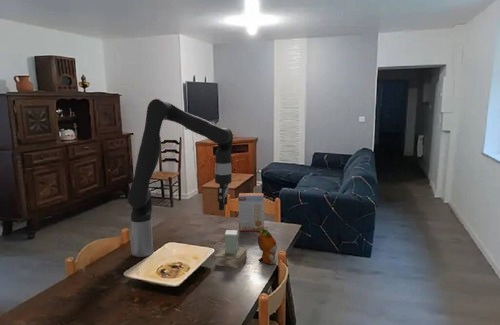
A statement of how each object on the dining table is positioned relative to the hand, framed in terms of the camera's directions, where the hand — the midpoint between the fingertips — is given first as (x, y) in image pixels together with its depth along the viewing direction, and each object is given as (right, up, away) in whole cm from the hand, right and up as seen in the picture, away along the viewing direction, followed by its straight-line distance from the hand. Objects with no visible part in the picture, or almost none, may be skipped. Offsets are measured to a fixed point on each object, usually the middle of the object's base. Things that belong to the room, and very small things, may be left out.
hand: (223, 207), depth 166 cm
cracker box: (+13, -18, +41) cm, 47 cm away
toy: (+20, -25, +1) cm, 32 cm away
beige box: (+4, -25, +1) cm, 26 cm away
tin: (+4, -20, 0) cm, 21 cm away
